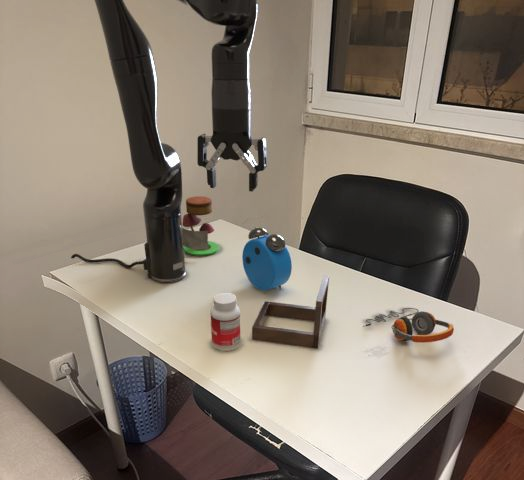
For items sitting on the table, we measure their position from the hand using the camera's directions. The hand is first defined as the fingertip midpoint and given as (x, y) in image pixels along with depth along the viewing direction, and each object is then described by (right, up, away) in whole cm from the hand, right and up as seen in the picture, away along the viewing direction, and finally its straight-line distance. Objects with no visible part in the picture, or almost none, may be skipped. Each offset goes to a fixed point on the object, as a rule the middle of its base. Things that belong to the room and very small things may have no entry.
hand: (232, 188), depth 107 cm
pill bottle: (-1, -33, +1) cm, 33 cm away
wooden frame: (+13, -30, +6) cm, 33 cm away
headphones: (+39, -31, +6) cm, 50 cm away
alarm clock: (+7, -18, +24) cm, 31 cm away
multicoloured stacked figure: (-13, -4, +45) cm, 47 cm away
